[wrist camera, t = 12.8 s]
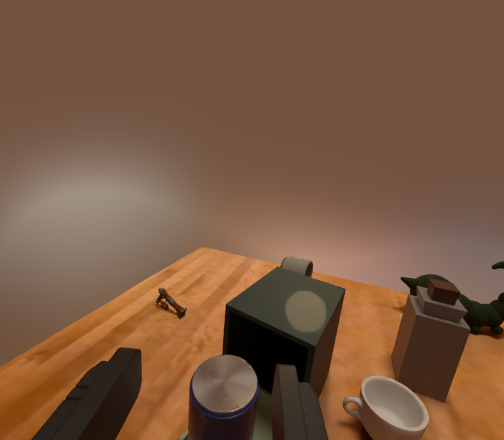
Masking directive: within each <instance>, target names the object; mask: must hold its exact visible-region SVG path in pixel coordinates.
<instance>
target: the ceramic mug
mask: <svg viewBox="0 0 504 440" xmlns="http://www.w3.org/2000/svg"><path fill="white" fill-rule="evenodd" d="M280 268H284V269H287V270H290V271H293V272H296V273H299V274H302V275H305V276H308V277H312V272H313V263H312V261H309V260H304V259H299V258H295V257H286V258H284V260H283V261H282V263H281V266H280Z"/></svg>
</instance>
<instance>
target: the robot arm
mask: <svg viewBox="0 0 504 440" xmlns="http://www.w3.org/2000/svg"><path fill="white" fill-rule="evenodd" d="M141 383H142V366H141V350H140V349H132V348H123V347H121V348H119V349H118V350H117V351H116V352H115V354H114V355H113V356H112V358H111V359H110V360H109V361H108V362H107V361H101V362H100V363H98V364H97V365H96V366H94V367H93V368H92V369H90V370H89V371H87V373H86V374H85V375H84V376H83V377H82V379H81V380H80V381H79V382H78V383H77V385H76V387H75V388H73V390H72V391H71V392H70V393H69V394H68V396H67V397H66V399H65V400H64V401H63V402H62V403H61V404H60V405H59V407H58V408H57V409H56V410H55V411H54V413H53V414H52V415H51V416H50V418H49V419H48V420H47V421H46V422H45V424H44V425H43V426H42V427H41V429H40V430H39V431H38V432H37V433H36V435H35V436H34V437H33V438H32V439H31V440H115V439H116V437H117V435H118V434H119V432H120V430H121V428H122V426H123V424H124V422H125V420H126V418H127V416H128V414H129V412H130V411H131V409H132V407H133V405H134V403H135V401H136V399H137V397H138V394H139V391H140V388H141ZM271 417H272V440H328V437H327V433H326V429H325V424H324V420H323V416H322V414H321V408H320V404H319V400H318V396H317V395H316V393H315V391H314V390H313V388H312V387H311V385H310V384H309V383H305V382H298V376H297V370H296V367H295V366H293V365H283V364H276V369H275V376H274V384H273V391H272V402H271Z"/></svg>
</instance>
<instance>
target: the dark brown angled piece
mask: <svg viewBox="0 0 504 440" xmlns="http://www.w3.org/2000/svg"><path fill="white" fill-rule="evenodd" d="M158 290H159V293H160V295H159V297H158V298H157V300H156V303H157V304H158V303H159V302H160V301H161V299H162V298H165V299H166V301H168V303H169V304H170V305H171V306H173V307H174V309H175V310H176V311H177V312H178V314H179V315H178V317H181V316H182V315H183V314H185V312H186V310H187V308H182V307H181V306H180V305H178V304H177V303H176V302H175V300H174V299H173V298H171V296H169V295H168V294H167V293H166V290H165V289H163V288H162V289H161V288H159V289H158ZM162 296H163V297H162ZM161 303H162V305H161V307H163V308H164V309H169V307H168V304H166V302H163V301H161Z"/></svg>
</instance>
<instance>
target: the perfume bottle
mask: <svg viewBox="0 0 504 440" xmlns="http://www.w3.org/2000/svg"><path fill="white" fill-rule="evenodd" d="M459 295H460V291H459V290H458V289H457V288H456V287H455V285H454V284H453V283H448V282H444V281H439V280H435V279H430V278H429V282H428V288H424V287H420V286H417V296H413V295H409V294H408V298H407V302H406V305H405V309H404V312H403V316H402V320H401V323H400V327H399V331H398V334H397V338H396V342H395V345H394V349H393V352H392V356H391V358H392V363H393V369H394V374H395V380H396V381H397V382H399V383H401V384H403V385H404V386H406V387H407V388H409V389H410V390H412V391H415V392H418V393H420V394H423V395H426V396H428V397H431V398H434V399H436V400H439V401H442V402H444V403H445V400H446V397H447V394H448V392H449V389H450V386H451V383H452V380H453V378H454V375H455V372H456V369H457V366H458V364H459V361H460V358H461V355H462V352H463V350H464V347H465V344H466V341H467V338H468V336H469V333H470V330H471V329H470V328H469V326H468V325H467V323H466V322H465V321H464V319H463V317H464V316H465V314H466V313H467V310H466V309H465V308H464V306H463V305H462V304H461V302H460V301H459V300H458V297H459Z"/></svg>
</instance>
